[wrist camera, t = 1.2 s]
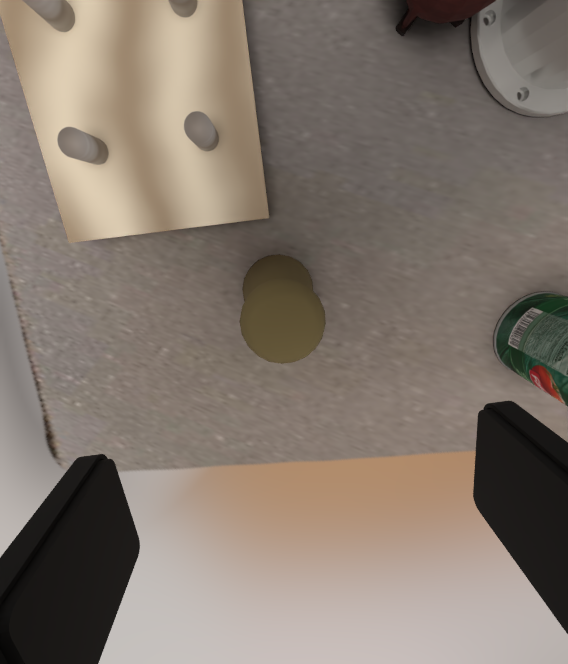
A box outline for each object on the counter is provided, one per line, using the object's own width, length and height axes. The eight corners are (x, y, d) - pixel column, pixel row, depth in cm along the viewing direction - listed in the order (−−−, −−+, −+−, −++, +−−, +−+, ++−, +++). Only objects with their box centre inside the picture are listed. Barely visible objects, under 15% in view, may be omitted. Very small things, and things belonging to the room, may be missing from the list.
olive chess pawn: (283, 337, 32) (292, 396, 22) (228, 296, 31) (208, 339, 20) (327, 284, 31) (358, 320, 20) (271, 239, 29) (274, 253, 19)
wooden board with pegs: (232, -75, 23) (218, -190, 17) (268, 217, 29) (269, 218, 22) (15, -49, 23) (-87, -155, 16) (95, 238, 29) (43, 246, 22)
